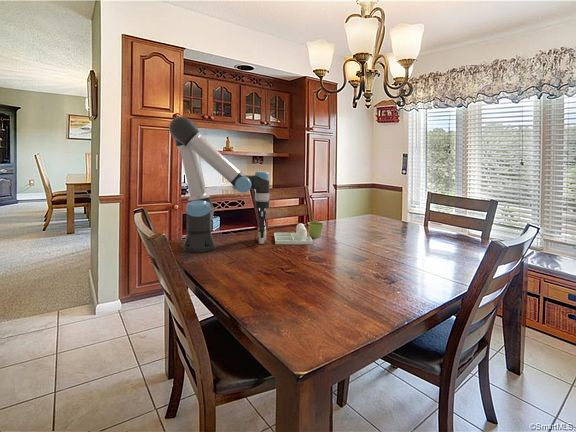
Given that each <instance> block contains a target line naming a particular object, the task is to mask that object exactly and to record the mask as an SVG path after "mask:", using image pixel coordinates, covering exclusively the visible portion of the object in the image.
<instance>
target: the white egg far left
mask: <svg viewBox="0 0 576 432" xmlns="http://www.w3.org/2000/svg"><path fill="white" fill-rule="evenodd" d="M300 227H305V225H304V224H303V223H298V224H297V225H296V230H295V231H296V232H295V233H296V236H298V230H299V228H300Z"/></svg>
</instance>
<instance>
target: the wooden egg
mask: <svg viewBox="0 0 576 432" xmlns="http://www.w3.org/2000/svg"><path fill="white" fill-rule="evenodd" d="M258 230H260V226H259V227H258V229H257V243H259V232H258ZM264 230H265V241H264V243H266V241H267V229H266V227H264Z"/></svg>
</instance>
